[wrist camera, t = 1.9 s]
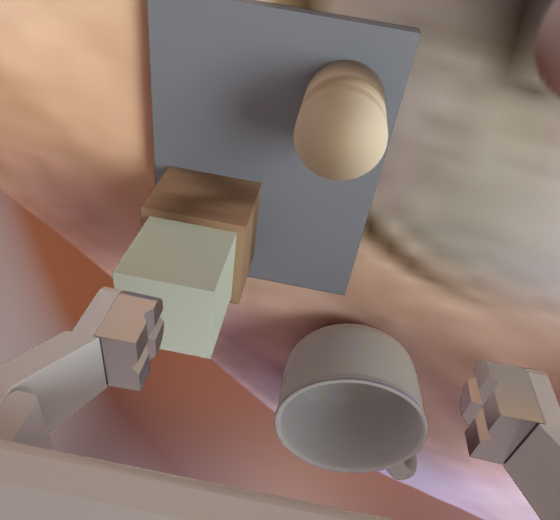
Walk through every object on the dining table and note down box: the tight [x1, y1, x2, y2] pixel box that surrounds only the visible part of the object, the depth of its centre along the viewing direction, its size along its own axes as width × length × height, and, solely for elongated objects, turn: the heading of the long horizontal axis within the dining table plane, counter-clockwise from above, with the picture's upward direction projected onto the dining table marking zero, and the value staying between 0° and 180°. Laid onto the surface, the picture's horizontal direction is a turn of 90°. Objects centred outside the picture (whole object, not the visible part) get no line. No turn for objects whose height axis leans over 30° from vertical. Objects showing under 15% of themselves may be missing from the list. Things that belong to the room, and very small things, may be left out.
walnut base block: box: [141, 166, 262, 304], centre depth 30 cm, size 6×6×5 cm
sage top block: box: [112, 216, 237, 359], centre depth 26 cm, size 5×5×5 cm
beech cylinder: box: [293, 60, 388, 181], centre depth 24 cm, size 4×4×5 cm
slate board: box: [147, 0, 421, 295], centre depth 30 cm, size 14×18×1 cm
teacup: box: [274, 323, 428, 480], centre depth 37 cm, size 14×11×8 cm
